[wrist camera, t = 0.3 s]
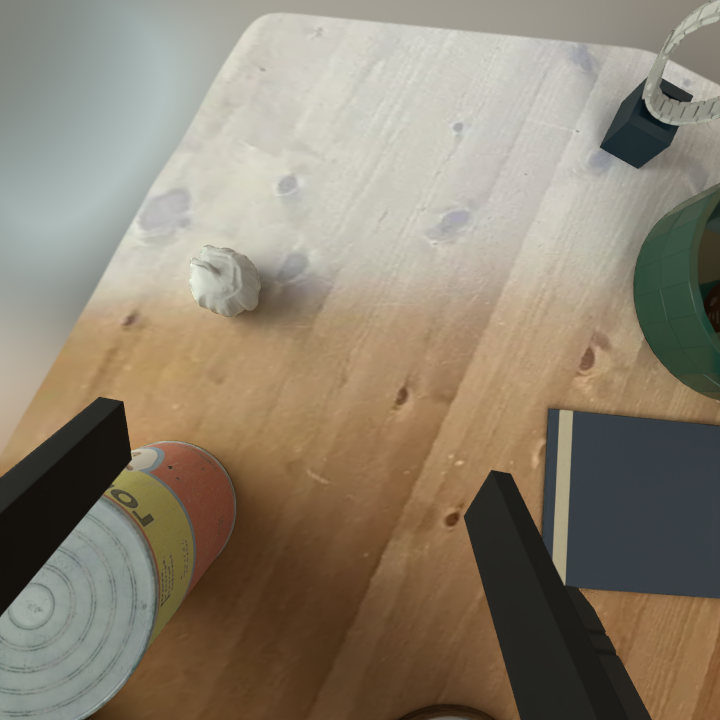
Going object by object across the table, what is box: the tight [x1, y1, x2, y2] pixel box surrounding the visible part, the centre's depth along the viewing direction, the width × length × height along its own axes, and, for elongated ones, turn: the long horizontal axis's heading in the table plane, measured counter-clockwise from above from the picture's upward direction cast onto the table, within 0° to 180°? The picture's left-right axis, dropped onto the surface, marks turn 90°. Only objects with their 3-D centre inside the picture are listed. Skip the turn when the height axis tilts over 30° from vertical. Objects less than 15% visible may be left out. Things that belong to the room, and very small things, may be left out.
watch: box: [600, 0, 720, 168], centre depth 27 cm, size 6×8×11 cm
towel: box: [542, 409, 720, 598], centre depth 29 cm, size 15×20×1 cm
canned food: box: [0, 441, 236, 720], centre depth 21 cm, size 11×11×12 cm
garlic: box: [189, 245, 261, 317], centre depth 26 cm, size 6×5×5 cm
